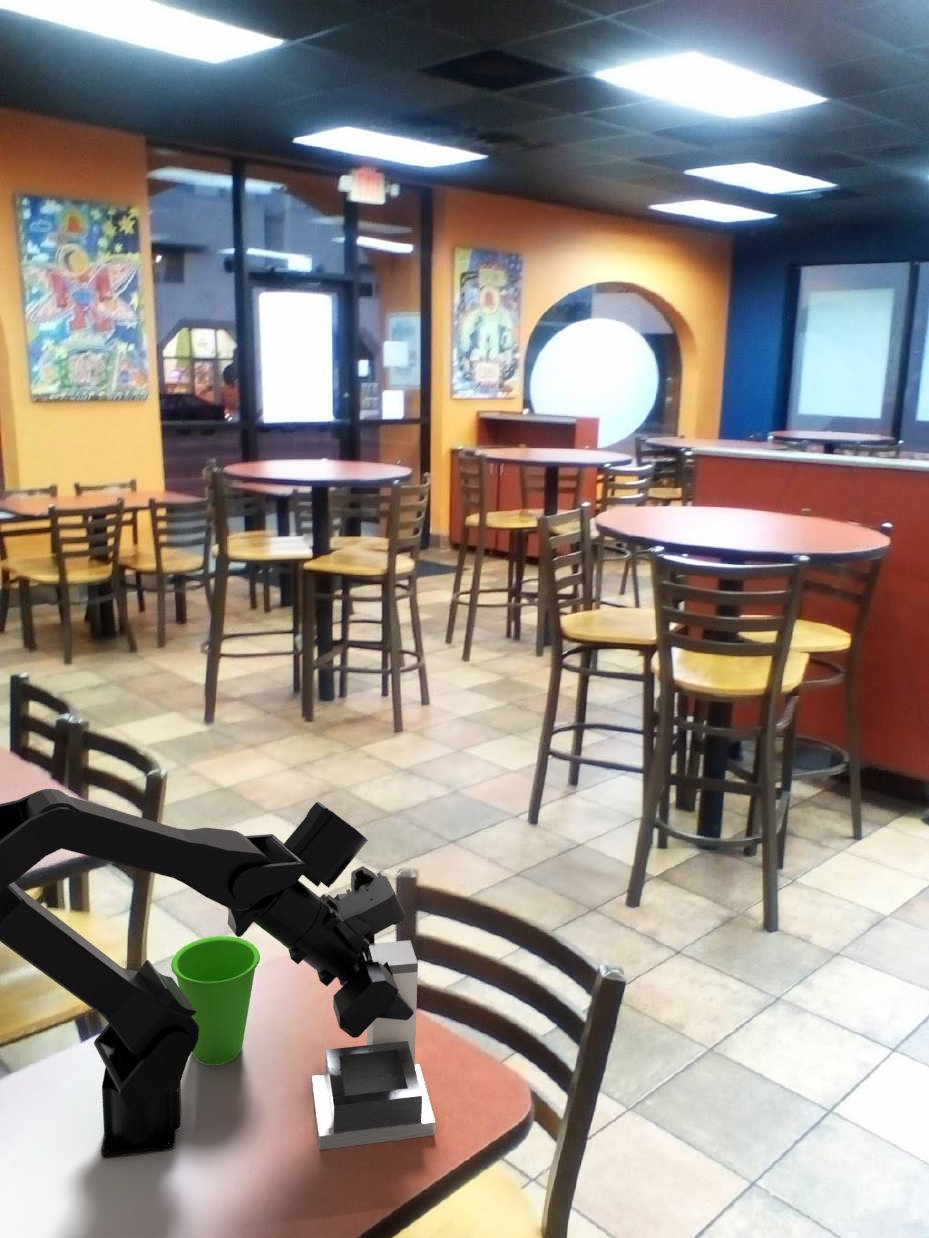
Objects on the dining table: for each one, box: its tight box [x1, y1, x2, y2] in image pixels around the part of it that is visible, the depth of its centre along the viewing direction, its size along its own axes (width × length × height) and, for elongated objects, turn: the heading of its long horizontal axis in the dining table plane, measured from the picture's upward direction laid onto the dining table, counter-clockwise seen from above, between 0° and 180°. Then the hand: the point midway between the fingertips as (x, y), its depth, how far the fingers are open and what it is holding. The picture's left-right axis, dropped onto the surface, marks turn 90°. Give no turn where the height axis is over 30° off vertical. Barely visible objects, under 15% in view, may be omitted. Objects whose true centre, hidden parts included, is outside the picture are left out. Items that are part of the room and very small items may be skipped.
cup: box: [170, 935, 261, 1066], centre depth 107 cm, size 9×9×11 cm
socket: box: [312, 1041, 436, 1151], centre depth 100 cm, size 11×9×4 cm
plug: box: [366, 940, 419, 1065], centre depth 107 cm, size 4×4×12 cm
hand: (404, 1001), depth 107 cm, fingers closed on plug, 5 cm apart
